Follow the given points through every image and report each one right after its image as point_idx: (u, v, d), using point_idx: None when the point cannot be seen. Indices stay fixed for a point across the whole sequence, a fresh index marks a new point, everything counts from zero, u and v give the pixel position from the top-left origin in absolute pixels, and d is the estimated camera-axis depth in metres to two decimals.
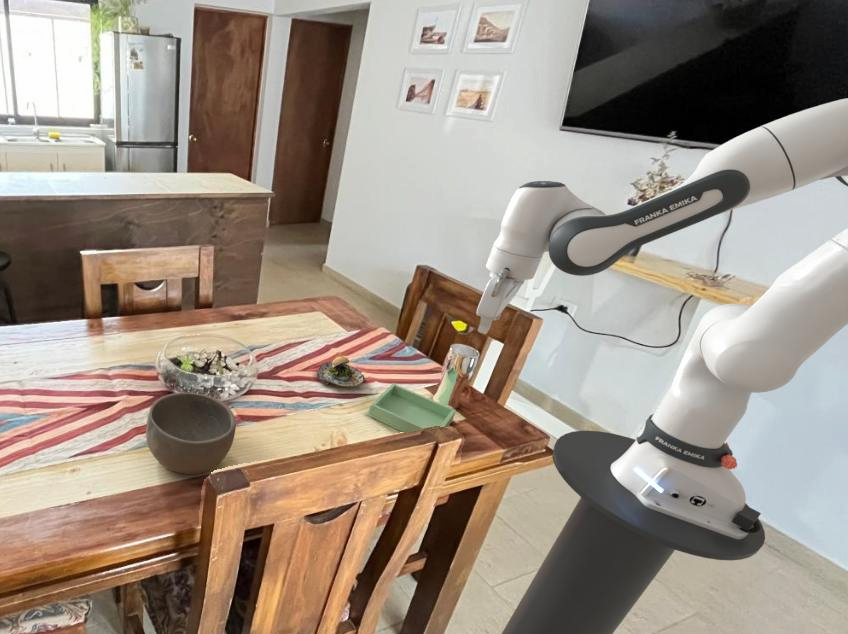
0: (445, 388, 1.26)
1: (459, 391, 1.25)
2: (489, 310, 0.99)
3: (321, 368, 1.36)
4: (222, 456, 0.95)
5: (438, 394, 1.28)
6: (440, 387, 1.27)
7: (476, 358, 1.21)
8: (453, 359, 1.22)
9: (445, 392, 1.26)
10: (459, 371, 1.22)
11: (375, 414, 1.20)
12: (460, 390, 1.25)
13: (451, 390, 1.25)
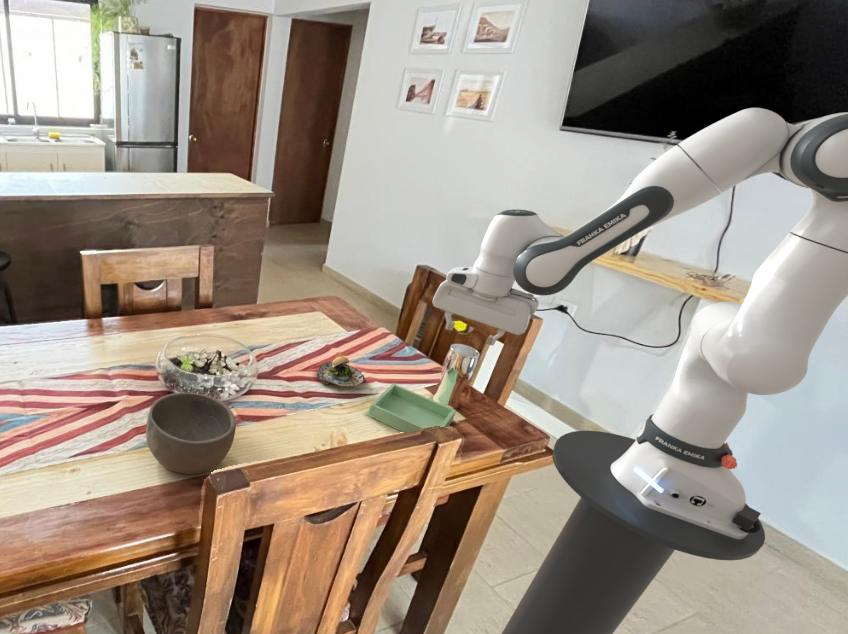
0: (445, 388, 1.26)
1: (459, 391, 1.25)
2: None
3: (321, 368, 1.36)
4: (222, 456, 0.95)
5: (438, 394, 1.28)
6: (440, 387, 1.27)
7: (476, 358, 1.21)
8: (453, 359, 1.22)
9: (445, 392, 1.26)
10: (459, 371, 1.22)
11: (375, 414, 1.20)
12: (460, 390, 1.25)
13: (451, 390, 1.25)
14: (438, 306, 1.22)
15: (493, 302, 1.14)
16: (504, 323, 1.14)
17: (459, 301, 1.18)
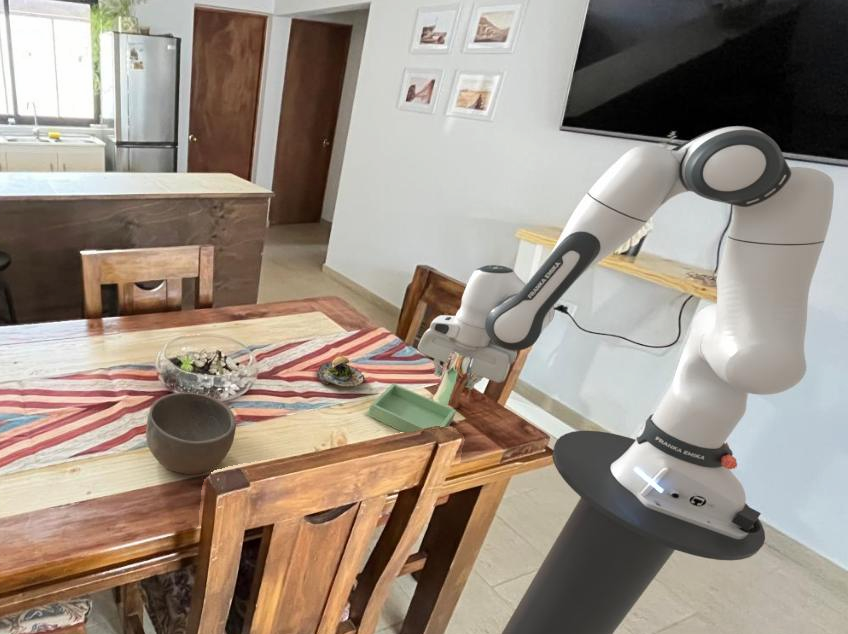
0: (445, 388, 1.26)
1: (459, 391, 1.25)
2: (506, 374, 1.19)
3: (321, 368, 1.36)
4: (222, 456, 0.95)
5: (438, 394, 1.28)
6: (440, 387, 1.27)
7: None
8: (453, 359, 1.22)
9: (445, 392, 1.26)
10: (459, 371, 1.22)
11: (375, 414, 1.20)
12: (460, 390, 1.25)
13: (451, 390, 1.25)
14: (423, 352, 1.27)
15: (474, 351, 1.20)
16: (485, 371, 1.19)
17: (443, 349, 1.24)
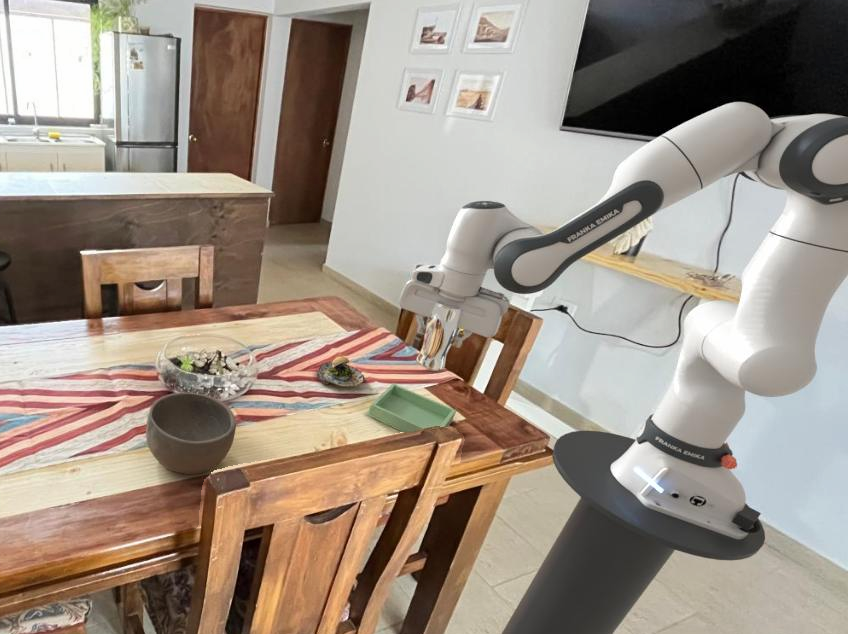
0: (429, 347, 1.11)
1: (445, 350, 1.10)
2: (498, 328, 1.04)
3: (321, 368, 1.36)
4: (222, 456, 0.95)
5: (421, 354, 1.14)
6: (424, 346, 1.13)
7: None
8: (437, 312, 1.07)
9: (429, 352, 1.12)
10: (444, 326, 1.07)
11: (375, 414, 1.20)
12: (446, 349, 1.10)
13: (436, 349, 1.11)
14: (405, 307, 1.13)
15: (461, 302, 1.05)
16: (473, 325, 1.05)
17: (426, 301, 1.10)
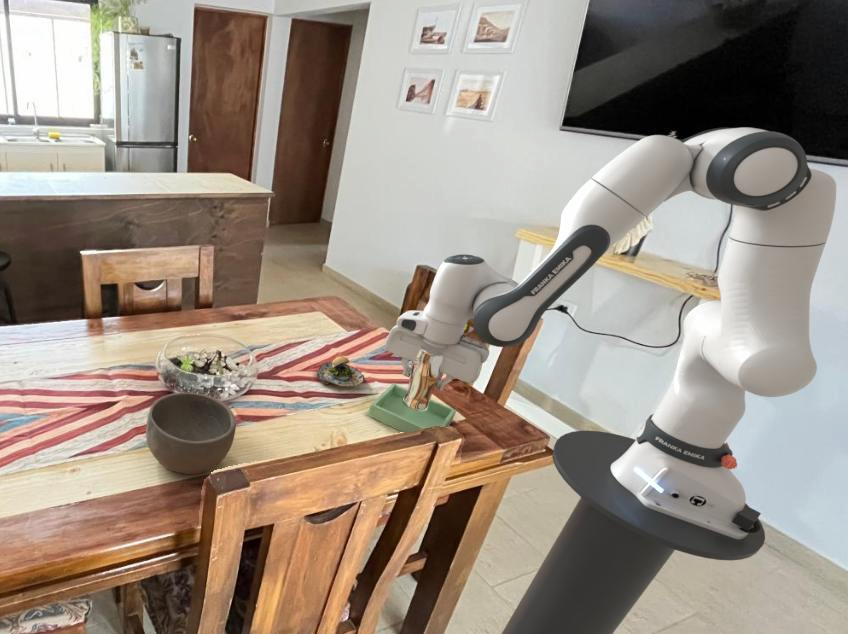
0: (414, 389, 1.16)
1: (429, 392, 1.15)
2: (479, 374, 1.09)
3: (321, 368, 1.36)
4: (222, 456, 0.95)
5: (407, 396, 1.18)
6: (409, 388, 1.18)
7: None
8: (421, 358, 1.12)
9: (414, 394, 1.17)
10: (428, 371, 1.12)
11: (375, 414, 1.20)
12: (430, 391, 1.15)
13: (420, 392, 1.15)
14: (391, 351, 1.18)
15: (444, 349, 1.10)
16: (455, 371, 1.10)
17: (411, 347, 1.14)
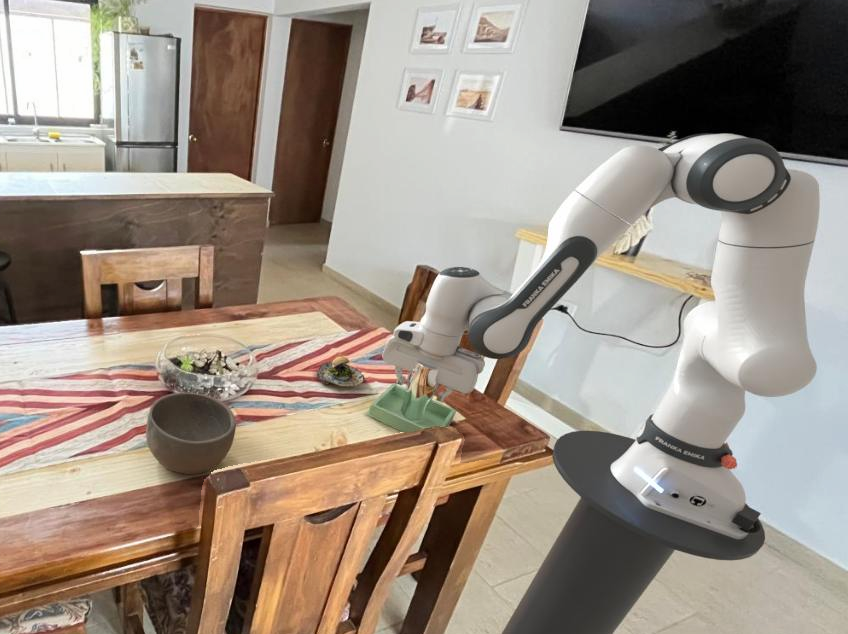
0: (410, 402, 1.18)
1: (425, 405, 1.17)
2: (474, 384, 1.10)
3: (321, 368, 1.36)
4: (222, 456, 0.95)
5: (403, 408, 1.20)
6: (405, 400, 1.19)
7: None
8: (417, 371, 1.14)
9: (410, 406, 1.18)
10: (423, 384, 1.14)
11: (375, 414, 1.20)
12: (426, 404, 1.17)
13: (416, 404, 1.17)
14: (388, 361, 1.19)
15: (440, 360, 1.11)
16: (451, 382, 1.11)
17: (408, 357, 1.16)
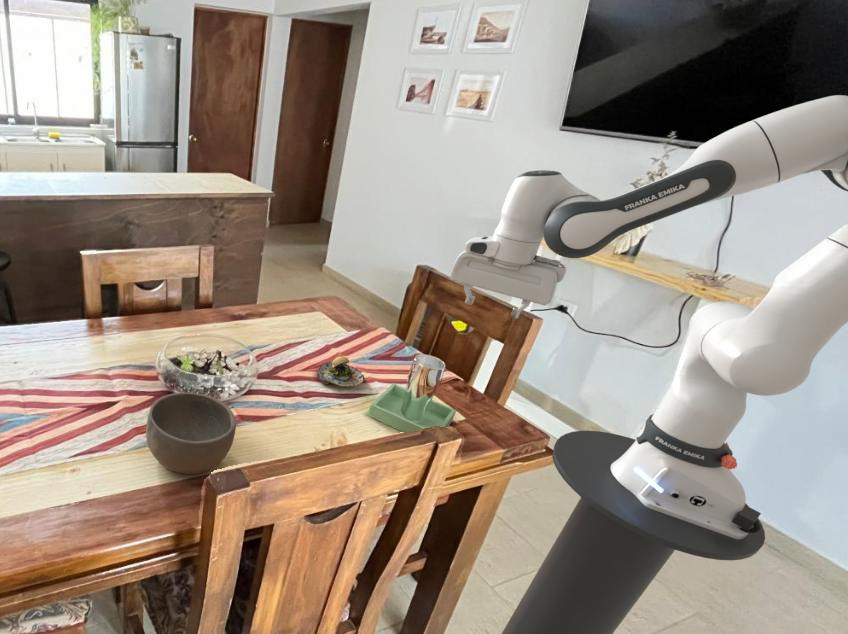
0: (410, 402, 1.18)
1: (425, 405, 1.17)
2: (553, 295, 1.06)
3: (321, 368, 1.36)
4: (222, 456, 0.95)
5: (403, 408, 1.20)
6: (405, 400, 1.19)
7: (441, 370, 1.12)
8: (417, 371, 1.14)
9: (410, 406, 1.18)
10: (424, 384, 1.14)
11: (375, 414, 1.20)
12: (426, 404, 1.17)
13: (416, 404, 1.17)
14: (457, 279, 1.15)
15: (516, 271, 1.07)
16: (529, 293, 1.07)
17: (480, 272, 1.11)
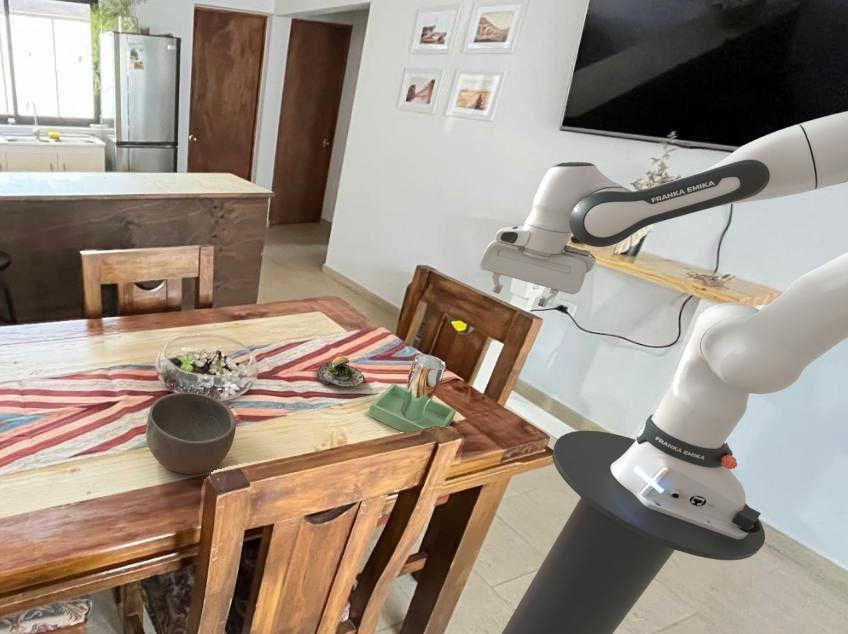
0: (410, 402, 1.18)
1: (425, 405, 1.17)
2: None
3: (321, 368, 1.36)
4: (222, 456, 0.95)
5: (403, 408, 1.20)
6: (405, 400, 1.19)
7: (441, 370, 1.12)
8: (417, 371, 1.14)
9: (410, 406, 1.18)
10: (424, 384, 1.14)
11: (375, 414, 1.20)
12: (426, 404, 1.17)
13: (416, 404, 1.17)
14: (486, 268, 1.17)
15: (546, 260, 1.09)
16: (558, 282, 1.09)
17: (509, 261, 1.14)
